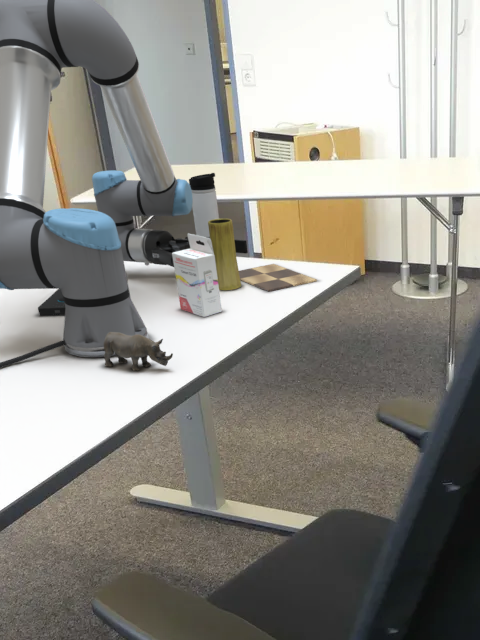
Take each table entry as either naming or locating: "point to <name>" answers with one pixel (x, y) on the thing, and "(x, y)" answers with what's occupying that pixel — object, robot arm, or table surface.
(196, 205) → the travel mug
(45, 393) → the table surface
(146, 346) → the rhino figurine
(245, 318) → the table surface
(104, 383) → the table surface
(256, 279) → the board
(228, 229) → the vase
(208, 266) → the ink cartridge box
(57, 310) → the smart home device
